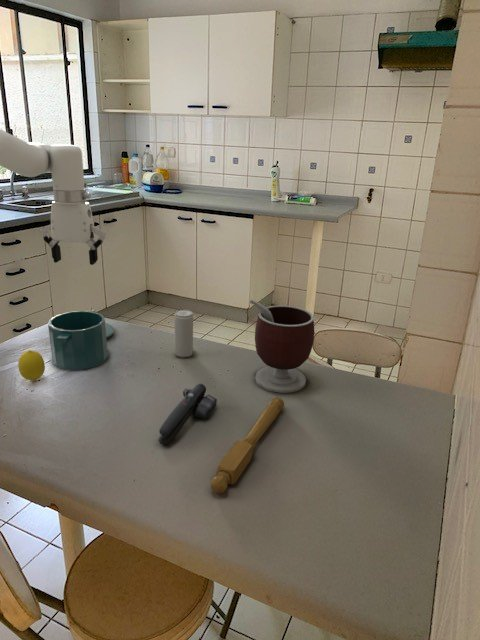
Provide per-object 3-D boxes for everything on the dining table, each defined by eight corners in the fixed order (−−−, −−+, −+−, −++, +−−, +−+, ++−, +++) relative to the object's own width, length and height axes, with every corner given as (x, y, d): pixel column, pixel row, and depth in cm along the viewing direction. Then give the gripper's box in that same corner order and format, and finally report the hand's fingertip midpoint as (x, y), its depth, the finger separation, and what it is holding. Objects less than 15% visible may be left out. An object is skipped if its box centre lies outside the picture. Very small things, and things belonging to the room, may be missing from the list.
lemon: (27, 389, 105) (22, 358, 102) (16, 380, 108) (11, 350, 105) (51, 381, 109) (47, 350, 106) (39, 372, 112) (35, 343, 109)
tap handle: (285, 398, 100) (223, 485, 75) (284, 410, 101) (223, 499, 76) (272, 394, 101) (207, 479, 76) (271, 406, 102) (206, 493, 77)
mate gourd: (309, 369, 119) (318, 296, 111) (307, 397, 106) (316, 317, 99) (250, 362, 121) (254, 290, 114) (241, 389, 109) (245, 310, 101)
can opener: (193, 398, 104) (193, 376, 102) (220, 406, 101) (221, 384, 99) (145, 441, 89) (144, 416, 87) (175, 452, 87) (175, 427, 84)
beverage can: (171, 354, 124) (170, 313, 119) (183, 348, 127) (183, 308, 123) (184, 360, 121) (184, 317, 117) (196, 353, 125) (197, 312, 120)
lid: (53, 343, 127) (50, 321, 125) (72, 323, 140) (70, 302, 138) (105, 346, 127) (103, 324, 124) (119, 326, 140) (118, 305, 137)
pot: (38, 373, 112) (32, 333, 108) (70, 341, 129) (66, 305, 125) (92, 377, 111) (89, 337, 107) (117, 344, 128) (115, 308, 124)
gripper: (108, 196, 120) (111, 260, 127) (42, 193, 121) (49, 256, 127) (98, 200, 113) (102, 268, 120) (29, 196, 114) (37, 264, 120)
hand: (75, 262), depth 124 cm, fingers open, 9 cm apart
